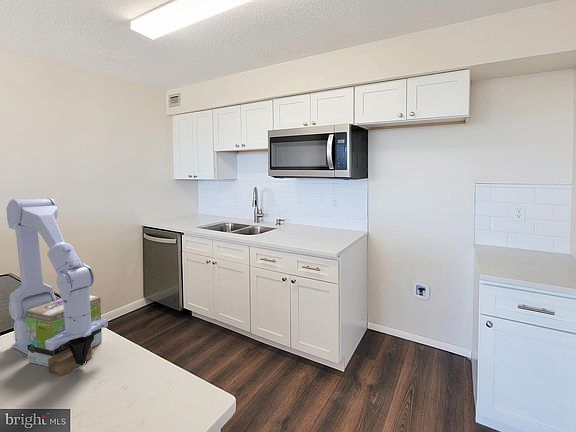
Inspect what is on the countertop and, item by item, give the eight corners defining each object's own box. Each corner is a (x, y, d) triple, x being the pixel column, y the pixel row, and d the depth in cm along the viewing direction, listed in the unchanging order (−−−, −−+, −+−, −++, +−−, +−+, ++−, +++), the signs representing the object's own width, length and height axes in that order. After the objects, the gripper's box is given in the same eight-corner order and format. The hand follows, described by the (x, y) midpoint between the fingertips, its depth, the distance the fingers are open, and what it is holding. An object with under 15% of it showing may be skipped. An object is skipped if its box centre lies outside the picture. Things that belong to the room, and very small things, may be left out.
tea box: (55, 369, 84) (51, 315, 82) (27, 363, 87) (23, 310, 85) (103, 342, 98) (101, 295, 97) (78, 337, 101) (75, 291, 99)
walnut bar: (48, 373, 83) (47, 359, 82) (81, 355, 91) (80, 342, 91) (60, 376, 81) (59, 362, 81) (91, 358, 90) (91, 344, 89)
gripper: (55, 328, 75) (59, 382, 76) (113, 306, 88) (116, 353, 89) (39, 321, 78) (43, 374, 80) (97, 301, 91) (100, 347, 92)
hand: (80, 363), depth 85 cm, fingers closed
